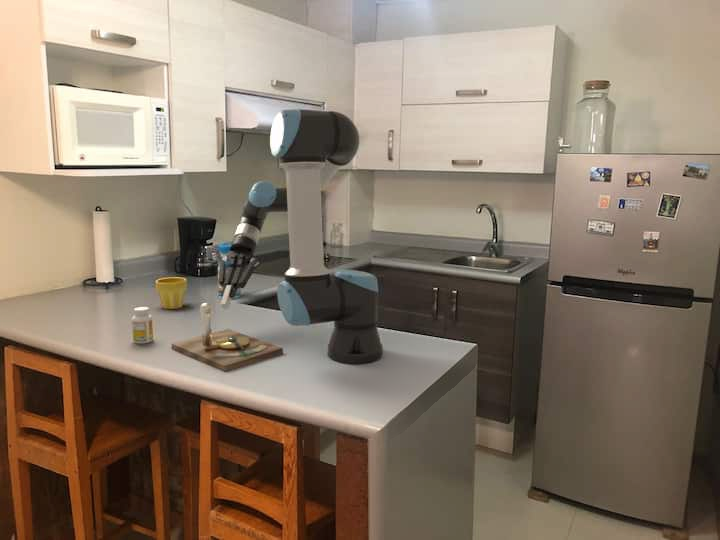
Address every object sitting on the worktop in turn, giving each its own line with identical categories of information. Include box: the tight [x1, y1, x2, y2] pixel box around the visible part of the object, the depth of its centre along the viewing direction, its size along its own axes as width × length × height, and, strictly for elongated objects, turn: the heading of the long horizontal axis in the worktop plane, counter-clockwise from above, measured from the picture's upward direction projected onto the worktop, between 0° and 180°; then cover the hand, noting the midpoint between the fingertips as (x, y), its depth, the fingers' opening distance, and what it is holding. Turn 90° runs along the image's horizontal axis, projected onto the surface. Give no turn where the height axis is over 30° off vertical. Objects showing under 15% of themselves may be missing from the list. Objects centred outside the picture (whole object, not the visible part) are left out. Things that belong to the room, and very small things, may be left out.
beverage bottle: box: [217, 243, 242, 300], centre depth 219 cm, size 8×8×20 cm
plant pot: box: [155, 276, 188, 310], centre depth 205 cm, size 10×10×10 cm
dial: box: [199, 302, 249, 351], centre depth 158 cm, size 13×13×13 cm
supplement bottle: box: [131, 306, 154, 344], centre depth 167 cm, size 5×5×10 cm
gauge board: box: [171, 328, 284, 372], centre depth 161 cm, size 25×19×2 cm
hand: (224, 306), depth 168 cm, fingers closed
